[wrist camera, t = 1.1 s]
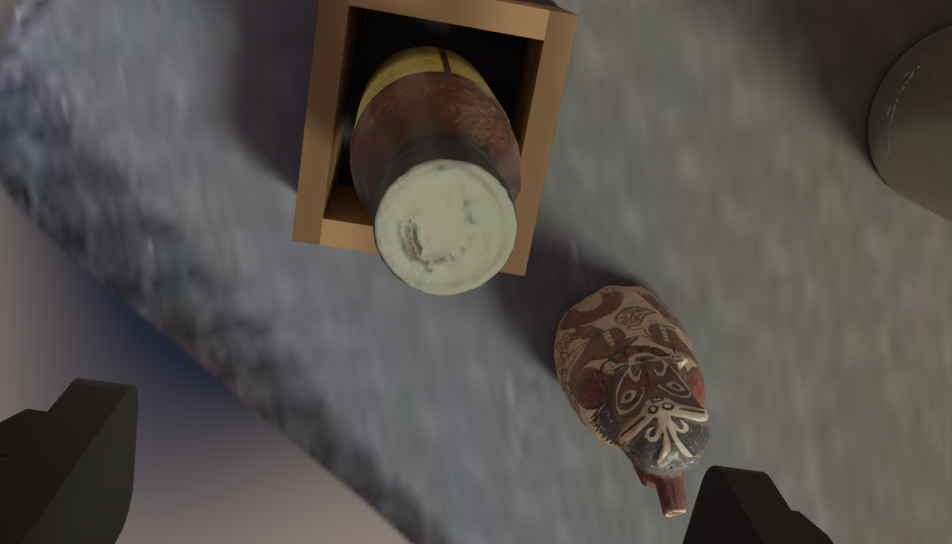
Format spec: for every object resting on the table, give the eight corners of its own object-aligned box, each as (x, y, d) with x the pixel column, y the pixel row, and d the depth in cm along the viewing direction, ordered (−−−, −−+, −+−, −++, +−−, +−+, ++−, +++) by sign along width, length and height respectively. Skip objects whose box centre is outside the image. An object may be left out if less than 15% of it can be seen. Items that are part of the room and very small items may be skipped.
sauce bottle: (351, 153, 43) (286, 306, 24) (378, 26, 41) (331, 86, 22) (479, 185, 44) (511, 355, 25) (512, 62, 42) (574, 148, 23)
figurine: (689, 285, 46) (771, 391, 35) (676, 404, 49) (749, 539, 37) (555, 285, 46) (594, 392, 35) (549, 405, 48) (584, 542, 37)
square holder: (559, 7, 41) (578, 15, 35) (513, 235, 45) (524, 275, 39) (338, -34, 40) (322, -32, 34) (310, 203, 44) (292, 240, 38)
